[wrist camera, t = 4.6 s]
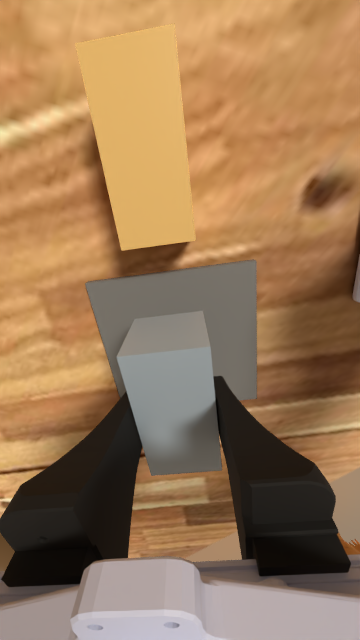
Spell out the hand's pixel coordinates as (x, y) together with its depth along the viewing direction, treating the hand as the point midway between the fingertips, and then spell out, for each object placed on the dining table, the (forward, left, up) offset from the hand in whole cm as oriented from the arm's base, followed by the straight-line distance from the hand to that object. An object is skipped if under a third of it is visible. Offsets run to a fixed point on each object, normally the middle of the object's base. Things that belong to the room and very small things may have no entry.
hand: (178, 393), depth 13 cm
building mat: (0, 0, -6) cm, 6 cm away
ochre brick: (0, -12, -6) cm, 14 cm away
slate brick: (0, 0, -2) cm, 2 cm away
